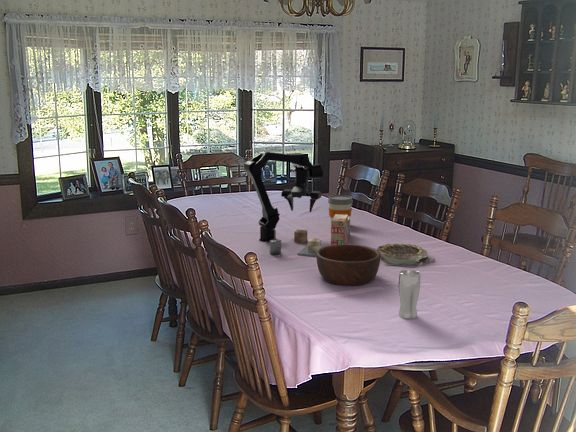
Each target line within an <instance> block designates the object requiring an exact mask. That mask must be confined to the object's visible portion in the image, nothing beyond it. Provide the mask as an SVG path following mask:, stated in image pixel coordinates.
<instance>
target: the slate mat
mask: <svg viewBox="0 0 576 432" xmlns="http://www.w3.org/2000/svg"><path fill="white" fill-rule="evenodd" d="M321 248H322V246H321ZM297 256H303V257H304V256H305V257H315V258H316V252H308V245H305V246H304V247H303V248H302V249H300V250H299V252H298V253H297Z"/></svg>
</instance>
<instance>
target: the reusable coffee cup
mask: <svg viewBox="0 0 576 432" xmlns="http://www.w3.org/2000/svg"><path fill="white" fill-rule="evenodd" d="M327 201H328V202H327V203H328V215H329V216H328V217H330V219H329V220H330V221H331V220H332V219H333V217H334V216H335V214H340V215H348V217H350V218H351V216H352V210H353V208H352V204H353V197H352V196H350V195H346V194H334V195H329V196H328V200H327Z"/></svg>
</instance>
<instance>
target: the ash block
mask: <svg viewBox="0 0 576 432" xmlns="http://www.w3.org/2000/svg"><path fill="white" fill-rule="evenodd" d="M322 241H323V240H322V238H318V237H317V238H316V237H315V238H313V237H310V238H309V239H307V246H308V252H317V251H318V250H319V249H320V248H321V247H322V244H323V243H322Z"/></svg>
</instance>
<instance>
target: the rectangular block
mask: <svg viewBox="0 0 576 432" xmlns="http://www.w3.org/2000/svg"><path fill="white" fill-rule="evenodd" d="M293 234H294V235H293V237H294V238H293V239H294V241H293V242H294V243H299V244H300V243H301V244H305V243H306V242H308V229H296V230H295V231H294V233H293Z"/></svg>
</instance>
